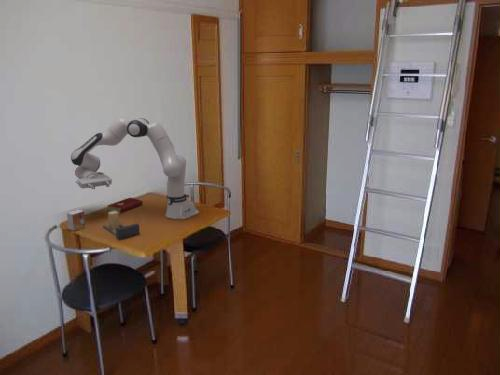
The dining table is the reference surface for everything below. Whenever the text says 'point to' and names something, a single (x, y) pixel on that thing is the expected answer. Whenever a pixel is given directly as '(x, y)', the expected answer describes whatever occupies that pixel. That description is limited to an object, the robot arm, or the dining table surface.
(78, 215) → the small box
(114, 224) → the tall tan pillar block
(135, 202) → the hardcover book
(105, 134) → the robot arm
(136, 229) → the pallet fork attachment
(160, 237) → the dining table surface
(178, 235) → the dining table surface
